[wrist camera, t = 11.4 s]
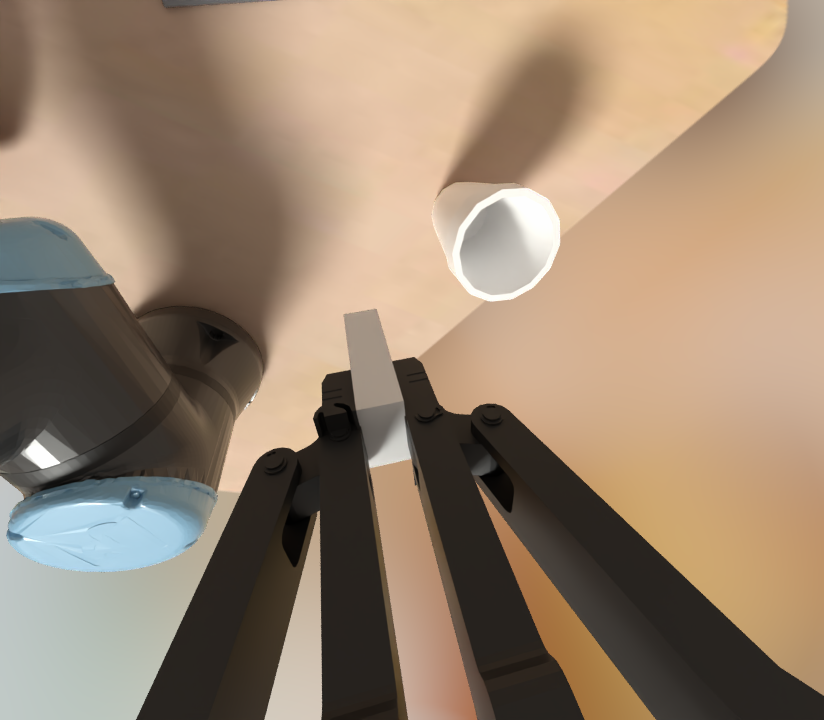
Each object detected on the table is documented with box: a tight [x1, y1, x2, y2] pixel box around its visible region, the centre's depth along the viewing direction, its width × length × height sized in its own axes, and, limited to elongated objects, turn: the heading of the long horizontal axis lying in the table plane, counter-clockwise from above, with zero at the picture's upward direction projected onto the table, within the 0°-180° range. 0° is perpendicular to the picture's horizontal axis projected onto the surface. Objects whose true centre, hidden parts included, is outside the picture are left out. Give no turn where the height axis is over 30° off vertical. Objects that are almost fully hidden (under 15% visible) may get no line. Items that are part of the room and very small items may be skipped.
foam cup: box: [431, 182, 560, 301], centre depth 37 cm, size 10×9×13 cm
